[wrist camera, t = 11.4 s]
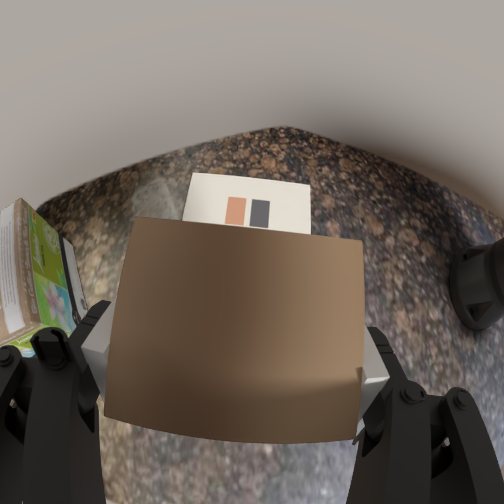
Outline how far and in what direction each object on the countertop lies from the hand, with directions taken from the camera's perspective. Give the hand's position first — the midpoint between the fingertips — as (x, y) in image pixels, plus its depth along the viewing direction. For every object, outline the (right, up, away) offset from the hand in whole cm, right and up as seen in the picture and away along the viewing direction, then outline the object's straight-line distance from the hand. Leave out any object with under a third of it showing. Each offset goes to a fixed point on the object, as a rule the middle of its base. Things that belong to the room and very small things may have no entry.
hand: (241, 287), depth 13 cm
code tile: (0, +7, +26) cm, 27 cm away
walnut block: (0, -4, +3) cm, 5 cm away
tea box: (-27, -6, +20) cm, 34 cm away
